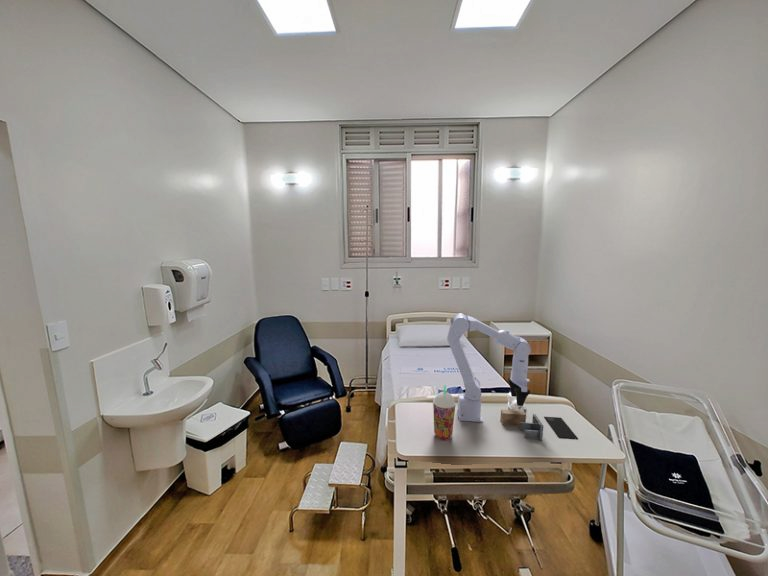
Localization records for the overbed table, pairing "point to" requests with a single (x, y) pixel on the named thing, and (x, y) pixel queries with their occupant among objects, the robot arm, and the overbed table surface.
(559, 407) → the overbed table surface
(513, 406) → the baby figurine
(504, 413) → the brown rectangular block
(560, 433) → the smartphone
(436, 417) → the smoothie
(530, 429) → the bracket
